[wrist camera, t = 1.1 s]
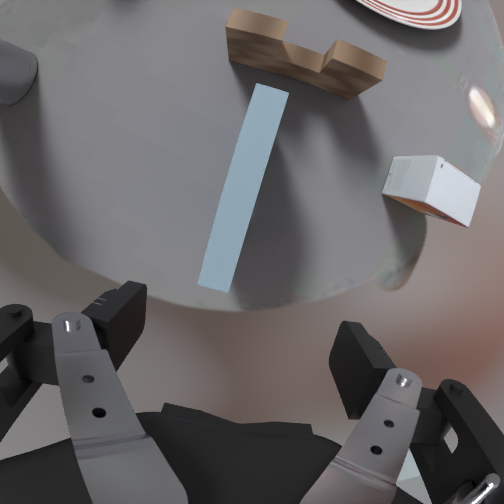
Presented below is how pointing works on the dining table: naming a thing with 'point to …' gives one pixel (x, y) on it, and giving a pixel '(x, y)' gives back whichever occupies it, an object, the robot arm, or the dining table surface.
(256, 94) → the light blue square panel
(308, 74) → the walnut block
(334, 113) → the dining table surface
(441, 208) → the small box
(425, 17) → the dinner plate
